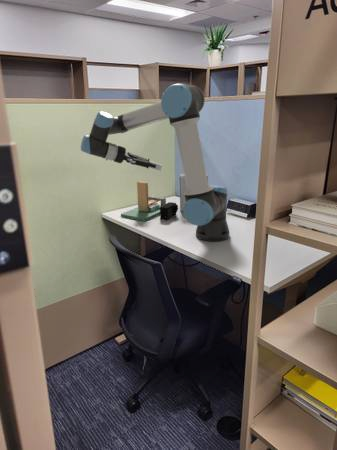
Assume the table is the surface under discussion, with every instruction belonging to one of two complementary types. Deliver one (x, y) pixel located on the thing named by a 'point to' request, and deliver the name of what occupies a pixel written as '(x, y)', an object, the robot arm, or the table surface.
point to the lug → (163, 200)
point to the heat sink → (153, 207)
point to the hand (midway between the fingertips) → (161, 167)
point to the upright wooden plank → (144, 197)
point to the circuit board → (141, 214)
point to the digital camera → (168, 211)
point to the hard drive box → (183, 190)
